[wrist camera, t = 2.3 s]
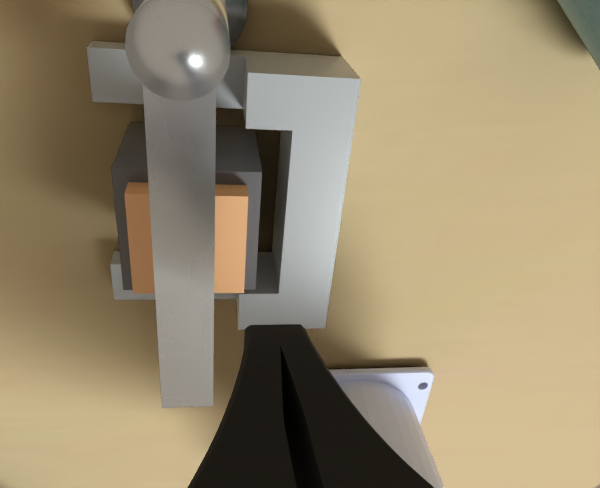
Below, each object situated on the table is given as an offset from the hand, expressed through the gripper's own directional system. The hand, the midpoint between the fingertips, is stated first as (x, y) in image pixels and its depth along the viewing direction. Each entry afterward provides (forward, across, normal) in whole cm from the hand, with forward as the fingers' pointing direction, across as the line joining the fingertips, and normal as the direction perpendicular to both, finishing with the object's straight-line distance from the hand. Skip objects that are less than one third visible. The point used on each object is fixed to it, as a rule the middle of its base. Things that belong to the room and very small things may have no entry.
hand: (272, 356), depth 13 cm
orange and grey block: (+10, +2, 0) cm, 10 cm away
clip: (+8, +2, -2) cm, 9 cm away
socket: (+10, +2, 0) cm, 10 cm away
